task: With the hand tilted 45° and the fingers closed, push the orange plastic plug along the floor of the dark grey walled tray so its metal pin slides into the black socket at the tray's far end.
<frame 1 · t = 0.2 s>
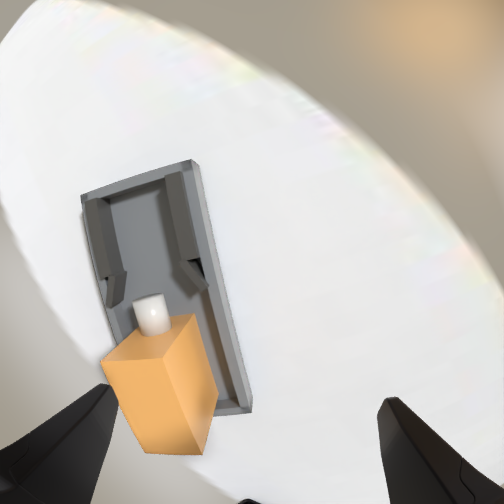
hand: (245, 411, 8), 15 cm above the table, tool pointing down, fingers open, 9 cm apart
tray: (183, 349, 24), on the table
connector: (180, 354, 23), point 1 cm above the table, touching tray
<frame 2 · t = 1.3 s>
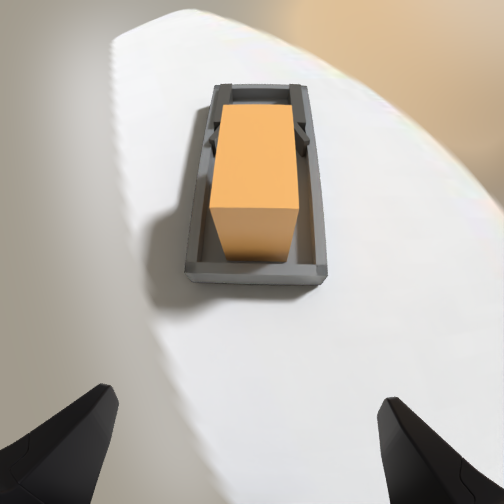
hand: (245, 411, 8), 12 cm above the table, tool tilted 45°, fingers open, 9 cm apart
tray: (258, 214, 24), on the table
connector: (258, 208, 23), point 1 cm above the table, touching tray
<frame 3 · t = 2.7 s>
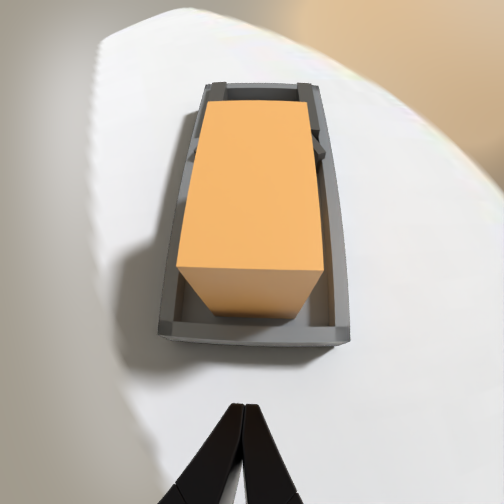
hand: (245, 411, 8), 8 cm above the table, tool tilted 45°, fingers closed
tray: (257, 251, 19), on the table
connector: (257, 244, 18), point 1 cm above the table, touching tray
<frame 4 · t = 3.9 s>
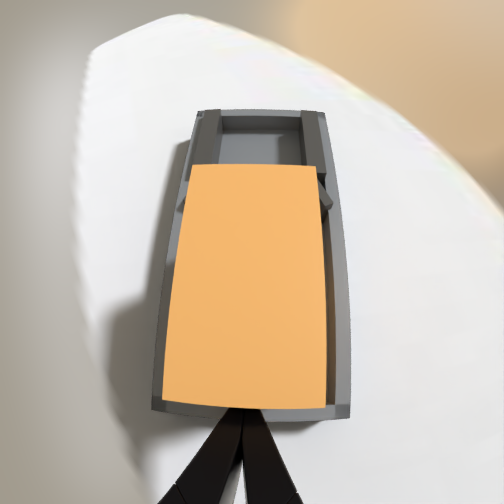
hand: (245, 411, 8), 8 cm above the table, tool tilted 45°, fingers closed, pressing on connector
tray: (255, 314, 17), on the table
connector: (254, 310, 16), point 1 cm above the table, touching gripper, tray
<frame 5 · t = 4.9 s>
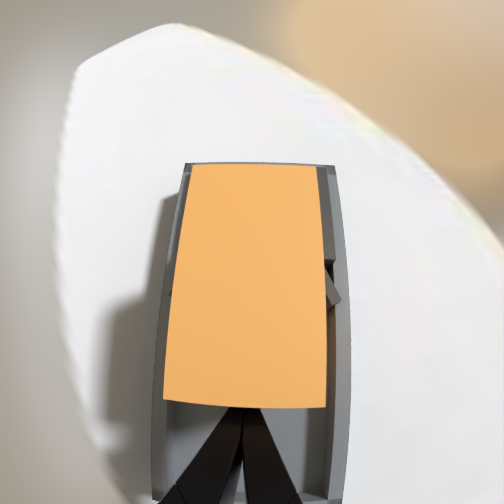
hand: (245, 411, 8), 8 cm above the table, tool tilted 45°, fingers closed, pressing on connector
tray: (251, 408, 15), on the table
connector: (255, 309, 16), point 1 cm above the table, touching gripper
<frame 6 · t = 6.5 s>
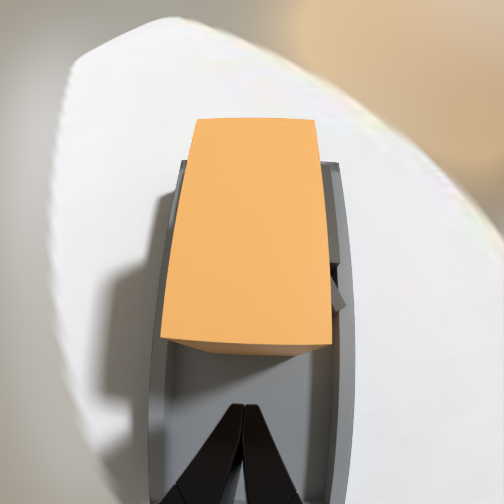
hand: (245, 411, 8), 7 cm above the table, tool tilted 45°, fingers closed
tray: (251, 416, 14), on the table
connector: (256, 273, 16), point 1 cm above the table, touching tray
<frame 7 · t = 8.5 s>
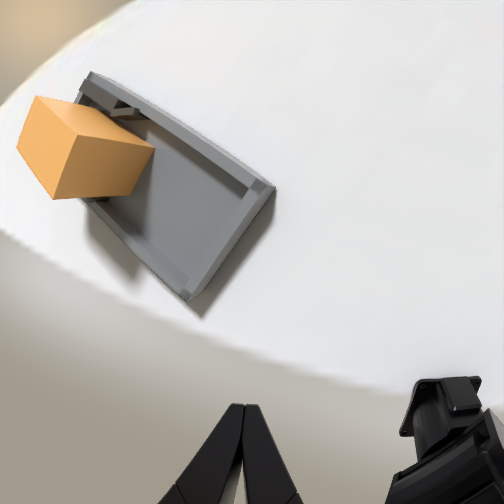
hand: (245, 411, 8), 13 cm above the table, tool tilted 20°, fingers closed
tray: (178, 196, 22), on the table
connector: (111, 147, 22), point 1 cm above the table, touching tray
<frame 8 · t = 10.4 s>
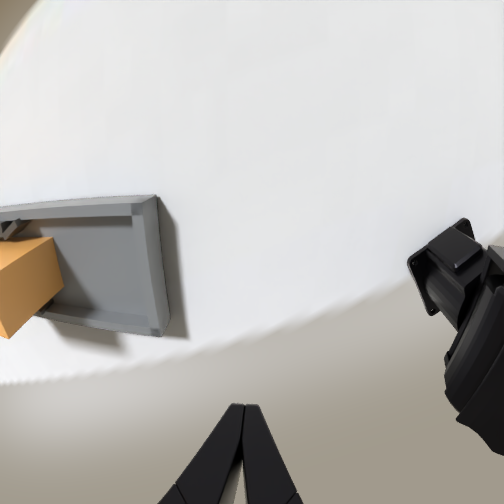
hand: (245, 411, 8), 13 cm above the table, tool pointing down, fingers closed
tray: (95, 259, 21), on the table
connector: (26, 260, 20), point 1 cm above the table, touching tray
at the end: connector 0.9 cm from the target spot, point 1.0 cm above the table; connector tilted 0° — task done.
